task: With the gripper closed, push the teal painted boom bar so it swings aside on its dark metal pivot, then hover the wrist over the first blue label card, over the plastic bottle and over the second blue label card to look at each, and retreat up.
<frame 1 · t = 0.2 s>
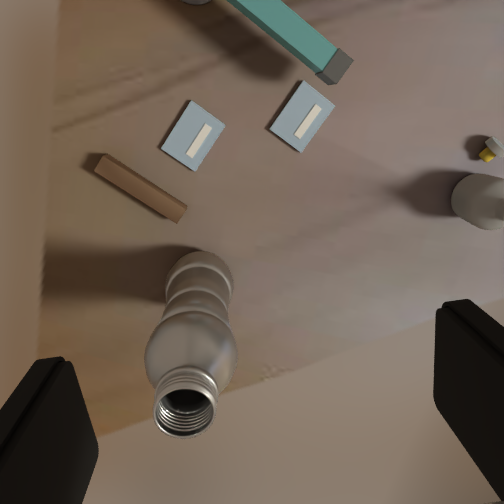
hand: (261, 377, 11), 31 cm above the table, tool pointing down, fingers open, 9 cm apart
label cards: (193, 136, 38), on the table
reed diffuser: (461, 187, 42), on the table
sill: (143, 187, 39), on the table
plastic bottle: (201, 274, 43), on the table
boom bar: (261, 12, 32), point 3 cm above the table, hinge at 0.0°
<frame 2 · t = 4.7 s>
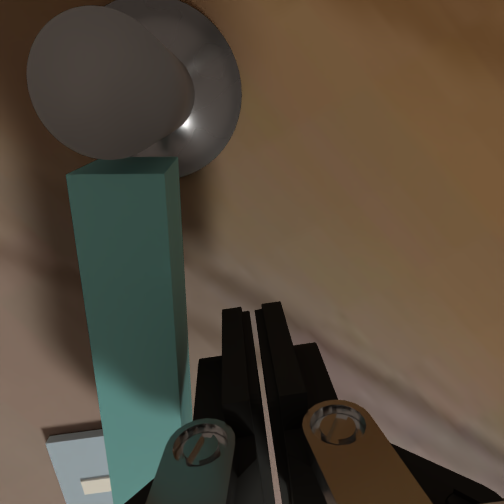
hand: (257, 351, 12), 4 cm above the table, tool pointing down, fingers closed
pivot plate: (156, 93, 13), on the table
boom bar: (154, 329, 12), point 3 cm above the table, hinge at 6.3°, touching gripper
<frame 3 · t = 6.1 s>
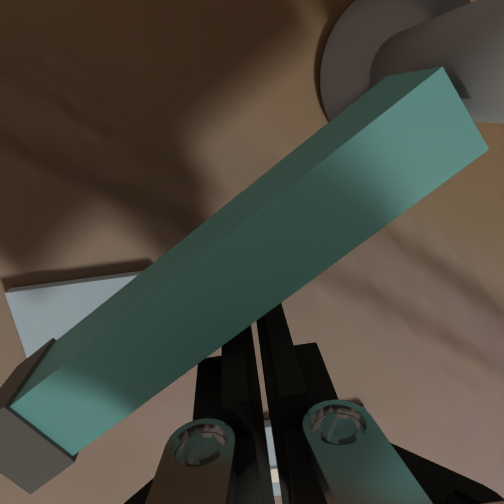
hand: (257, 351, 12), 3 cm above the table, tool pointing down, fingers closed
label cards: (97, 324, 15), on the table
pivot plate: (402, 75, 13), on the table
boom bar: (250, 230, 11), point 3 cm above the table, hinge at 58.3°, touching gripper
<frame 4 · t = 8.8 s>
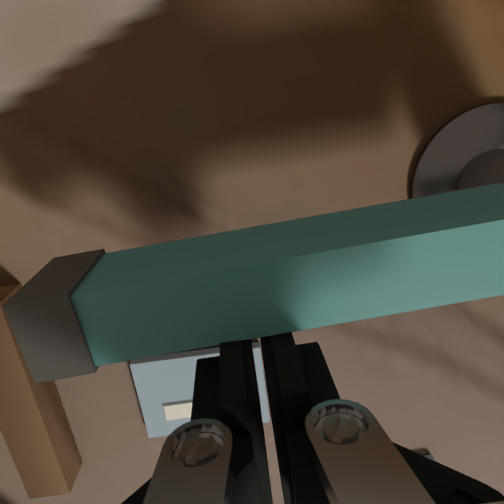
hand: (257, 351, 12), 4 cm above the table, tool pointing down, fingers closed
label cards: (203, 387, 17), on the table
sill: (33, 383, 17), on the table
pivot plate: (484, 182, 15), on the table
boom bar: (328, 245, 12), point 3 cm above the table, hinge at 87.2°, touching gripper
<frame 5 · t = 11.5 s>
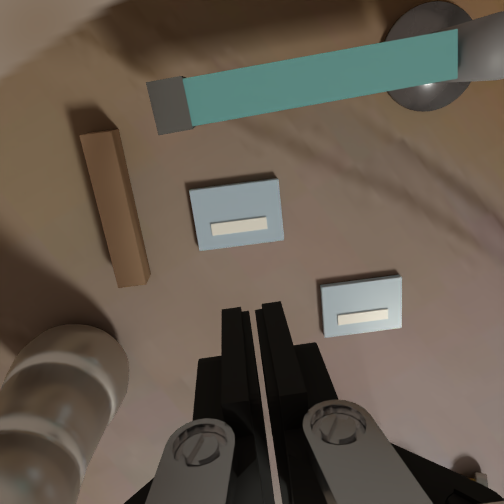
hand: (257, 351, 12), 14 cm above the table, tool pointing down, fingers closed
label cards: (237, 214, 25), on the table
sill: (121, 207, 24), on the table
pivot plate: (429, 58, 22), on the table
plastic bottle: (85, 353, 27), on the table
boom bar: (324, 78, 19), point 3 cm above the table, hinge at 87.2°
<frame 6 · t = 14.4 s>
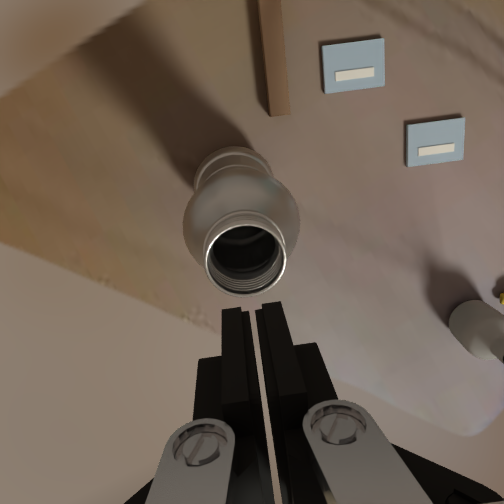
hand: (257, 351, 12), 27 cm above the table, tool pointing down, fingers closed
label cards: (352, 66, 35), on the table
reed diffuser: (466, 305, 43), on the table
sill: (273, 60, 34), on the table
plastic bottle: (233, 180, 38), on the table
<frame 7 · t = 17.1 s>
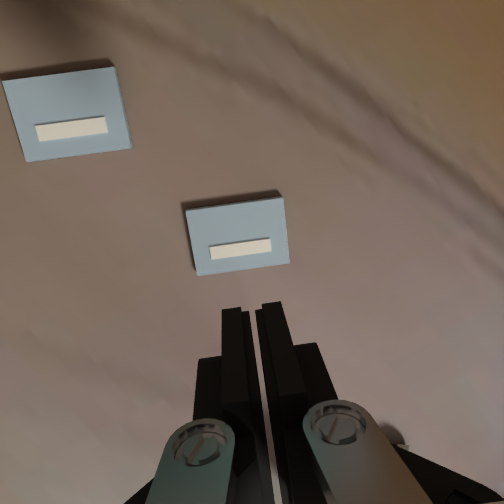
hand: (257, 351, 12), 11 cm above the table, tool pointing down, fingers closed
label cards: (71, 115, 20), on the table
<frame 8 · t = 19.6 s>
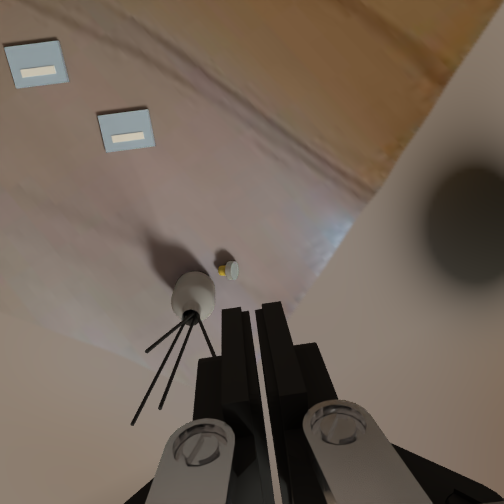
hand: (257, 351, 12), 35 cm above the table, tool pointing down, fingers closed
label cards: (38, 65, 40), on the table
reed diffuser: (194, 277, 49), on the table
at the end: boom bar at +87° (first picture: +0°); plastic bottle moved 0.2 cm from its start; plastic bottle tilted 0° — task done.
